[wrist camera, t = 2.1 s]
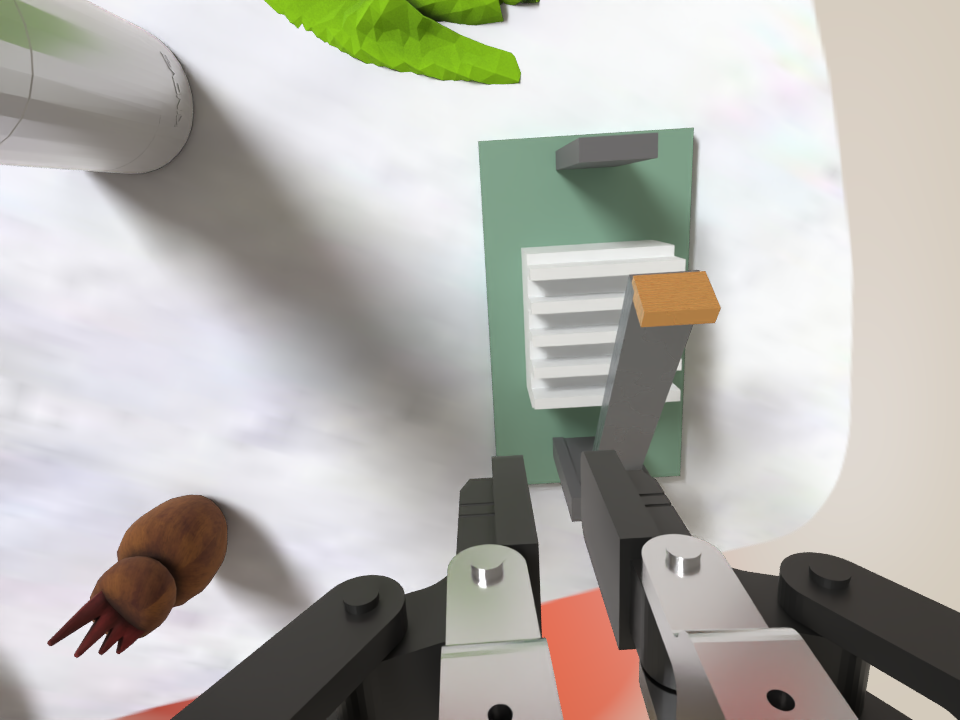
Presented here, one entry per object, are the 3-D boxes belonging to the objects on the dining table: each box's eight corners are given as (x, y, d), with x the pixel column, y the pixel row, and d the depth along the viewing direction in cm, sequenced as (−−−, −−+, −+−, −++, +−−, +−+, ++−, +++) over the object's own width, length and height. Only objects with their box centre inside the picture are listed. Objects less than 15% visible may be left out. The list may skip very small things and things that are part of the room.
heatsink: (497, 479, 45) (503, 556, 36) (478, 142, 38) (478, 124, 29) (675, 469, 45) (729, 544, 35) (688, 129, 38) (759, 106, 28)
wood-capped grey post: (631, 482, 37) (639, 518, 36) (582, 485, 37) (587, 521, 36) (706, 262, 23) (726, 307, 21) (625, 267, 23) (639, 313, 21)
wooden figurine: (150, 490, 45) (-3, 628, 31) (218, 473, 45) (96, 605, 30) (184, 562, 47) (54, 723, 33) (250, 546, 47) (148, 703, 32)
